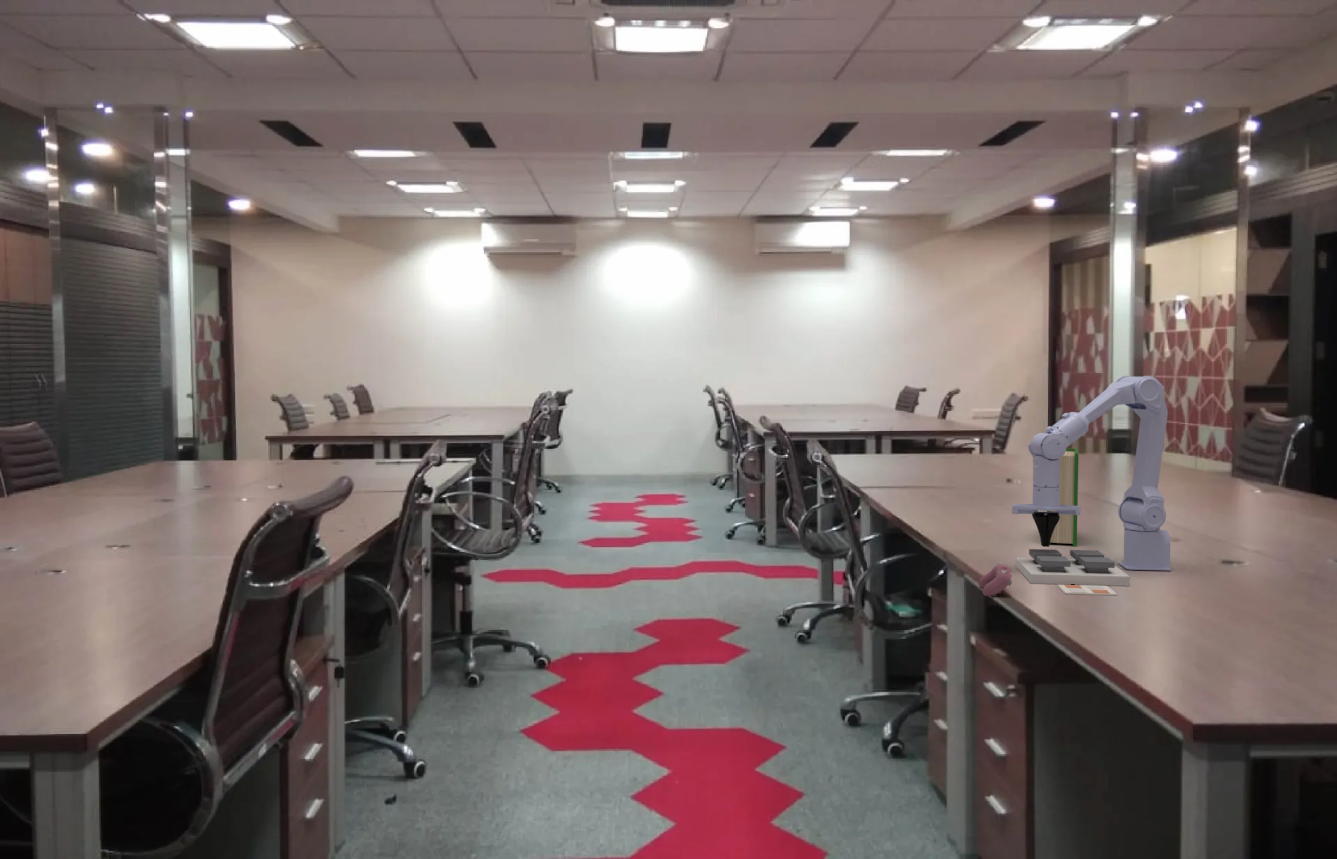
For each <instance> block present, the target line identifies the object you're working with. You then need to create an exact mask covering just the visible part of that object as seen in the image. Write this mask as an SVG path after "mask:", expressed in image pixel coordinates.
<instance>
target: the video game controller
mask: <svg viewBox="0 0 1337 859" xmlns="http://www.w3.org/2000/svg"><path fill="white" fill-rule="evenodd" d="M1012 584H1013V580H1012V573H1011V568H1010V566H1008V565H1005V564H1003V563H1001V564H1000V563H997V565H996V566H994V567H993V568H992V569H991V570H990V571H989V572H988V573H986V574H984V575H983V576H981V578H980V579H979V581H978V587H980V588H981V589H982V594H983V595H984V597H992V596H996V595H997V594H998V595H1001V593H1003V592H1004V590H1005V589H1006V588H1007V587H1008V586H1009V587H1010V586H1012Z"/></svg>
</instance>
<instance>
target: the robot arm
mask: <svg viewBox="0 0 1337 859" xmlns="http://www.w3.org/2000/svg"><path fill="white" fill-rule="evenodd" d="M1164 396H1165V386H1163V384H1162V383H1161V382H1160V381H1159V380H1158V379H1157V377H1156V378H1155V377H1154V376H1151V375H1146V376H1130V375H1123V376H1121V377H1119V378H1118V379H1116V381H1113V382H1111V383H1110V384H1109V385H1108V386H1107V388H1106V389H1105V390H1104V391H1103V392H1101V393H1100V394H1099V395H1098V396H1096V397H1095V398H1094V399H1092V401H1090V402H1089V403H1088V404H1087V405H1085V407H1084V408H1082V409H1081V410H1080V411H1078V412H1076V411H1071V412H1065V413H1063V414H1062V415H1061V419H1059V420H1058V421H1057V422H1055V423H1054V424H1053V425H1052V426H1050V425H1049V426H1047V427H1046V428H1045V432H1039V433H1037V434H1035V435H1034V436H1033V437H1032V438H1031V440H1030V443H1029V444H1028V445H1027V446H1028V447H1027V448H1028V452H1029V453H1030V454H1031V456H1032V472H1033V473H1032V503H1025V504H1011V513H1012V514H1013V515H1018V514H1019V515H1020V514H1021V515H1023V514H1025V515H1028V514H1029V515H1031V516H1032V519H1033V521H1034V523H1035V525H1036V528H1037V531H1038V534H1039V540H1040V545H1041V546H1042V547H1046V548H1050V545H1051V543H1050V540H1051V536H1052V533H1053V531H1054V529H1055V527H1056V525H1057V523H1058V521H1059V519H1060V516H1059V514H1066V515H1077V516H1081V506H1079V505H1078V506H1072V505H1059V497H1060V457H1062V456H1063V455H1064V454H1065V452H1066V449H1068V447H1069V446H1071V445H1073V443H1075V442H1076V441H1077V440H1079V439H1080V438H1081V437H1082V436H1084V435H1085V434H1087V433H1088V431H1089V427H1090V426H1089V425H1091V423H1092V422H1094V421H1095V420H1097V419H1098V418H1100V417H1101V416H1103V415H1104V414H1106V413H1108V411H1111V410H1112V409H1113V408H1114V407H1115V408H1116V406H1119V405H1125V406H1127V407H1129V408H1130V409H1131V410H1132V411H1134V413H1135V414H1136V415H1137V416H1138V417H1139V418H1140V420H1139V428H1138V437H1137V443H1136V451H1135V457H1134V466H1133V472H1132V479H1131V480H1132V481H1131V485H1130V487H1128V488H1127V489H1126V490H1125V492H1124V494H1123V498H1122V501H1121V502H1120V504H1119V507H1118V509H1117V510H1118V511H1117V512H1118V513H1117V514H1118V518H1119V520H1120V521H1121V522H1122V523H1123V525H1122V526H1123V530H1124V531H1123V535H1124V536H1123V560H1122V561H1121V560H1120V561H1117V564H1119V565H1120V566H1121V567H1123V568H1125V569H1126V570H1130V571H1132V570H1133V571H1135V570H1136V571H1137V570H1138V571H1139V570H1140V571H1171V570H1172V569H1171V536H1170V533H1169V531H1168V530H1166V529H1161V528H1162V526H1163V525H1164V524H1165V521H1166V517H1167V514H1166V510H1165V498H1164V496H1163V495H1162V494H1161V492H1160V490H1159V480H1160V473H1161V466H1162V465H1161V464H1162V458H1163V453H1164V452H1163V450H1164V445H1165V444H1164V443H1165V436H1166V430H1167V422H1168V414H1169V412H1168V408H1167V403H1166V400H1165V397H1164ZM1047 511H1055V512H1047ZM1049 544H1050V545H1049Z"/></svg>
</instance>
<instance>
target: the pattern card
mask: <svg viewBox="0 0 1337 859" xmlns="http://www.w3.org/2000/svg"><path fill="white" fill-rule="evenodd" d="M1056 586H1057V587H1058V588H1059V590H1061V591H1062V592H1063V593H1064V594H1065V595H1081V596H1082V595H1087V596H1089V595H1090V596H1118V594H1117V593H1116V591H1114V590H1113V589H1112V588H1111V587H1109V586H1108V585H1071V584H1056Z"/></svg>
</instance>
